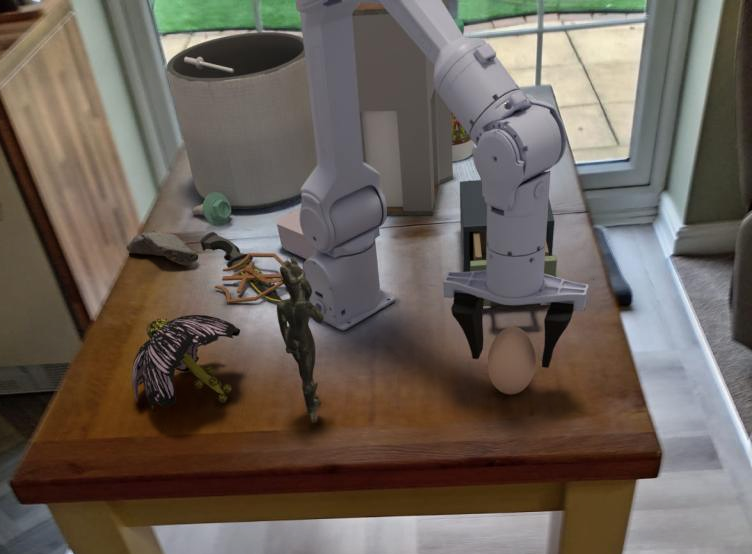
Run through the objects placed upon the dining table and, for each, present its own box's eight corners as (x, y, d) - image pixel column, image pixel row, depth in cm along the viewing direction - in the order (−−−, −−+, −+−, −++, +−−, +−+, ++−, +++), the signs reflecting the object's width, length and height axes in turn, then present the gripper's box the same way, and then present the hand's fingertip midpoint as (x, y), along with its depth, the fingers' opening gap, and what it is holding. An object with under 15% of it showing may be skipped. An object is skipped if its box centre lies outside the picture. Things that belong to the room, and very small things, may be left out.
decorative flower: (181, 276, 97) (227, 290, 85) (237, 351, 104) (286, 373, 92) (88, 353, 95) (121, 379, 83) (151, 425, 101) (190, 457, 89)
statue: (341, 394, 94) (317, 233, 80) (335, 429, 89) (309, 265, 75) (302, 395, 94) (271, 235, 80) (294, 430, 90) (260, 267, 76)
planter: (214, 160, 146) (185, 37, 132) (336, 152, 143) (320, 25, 129) (182, 217, 131) (146, 85, 116) (319, 210, 127) (299, 74, 113)
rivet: (227, 67, 114) (230, 79, 116) (235, 62, 115) (238, 74, 116) (180, 56, 119) (183, 67, 120) (187, 51, 120) (191, 62, 121)
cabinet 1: (447, 176, 132) (441, -23, 112) (483, 194, 126) (484, -12, 106) (339, 217, 126) (312, 13, 106) (372, 239, 120) (350, 27, 100)
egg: (542, 397, 90) (547, 334, 84) (499, 410, 89) (501, 348, 83) (520, 372, 93) (523, 310, 88) (479, 384, 93) (479, 323, 87)
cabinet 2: (550, 274, 108) (554, 220, 102) (463, 279, 109) (463, 226, 104) (540, 226, 117) (543, 174, 112) (460, 232, 118) (459, 181, 113)
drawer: (558, 322, 98) (561, 280, 94) (472, 327, 99) (472, 285, 95) (543, 253, 110) (546, 212, 106) (467, 258, 111) (466, 218, 107)
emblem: (207, 304, 111) (205, 300, 111) (230, 255, 117) (229, 251, 116) (286, 301, 108) (285, 297, 107) (306, 251, 113) (305, 247, 112)
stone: (121, 248, 123) (134, 218, 123) (155, 268, 127) (168, 239, 127) (159, 255, 114) (174, 222, 114) (194, 276, 118) (208, 245, 118)
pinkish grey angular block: (278, 251, 120) (320, 270, 114) (272, 221, 117) (315, 240, 111) (329, 225, 124) (372, 242, 118) (324, 195, 121) (368, 211, 115)
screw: (240, 198, 126) (213, 187, 123) (234, 230, 127) (207, 220, 123) (209, 199, 133) (183, 189, 129) (203, 230, 133) (177, 220, 130)
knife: (258, 315, 108) (292, 302, 110) (256, 305, 107) (290, 292, 108) (199, 246, 123) (229, 235, 124) (196, 237, 122) (227, 226, 123)
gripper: (598, 228, 79) (585, 344, 88) (454, 218, 83) (457, 330, 93) (586, 264, 74) (573, 383, 84) (435, 251, 79) (440, 365, 88)
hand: (511, 358), depth 88 cm, fingers open, 7 cm apart
